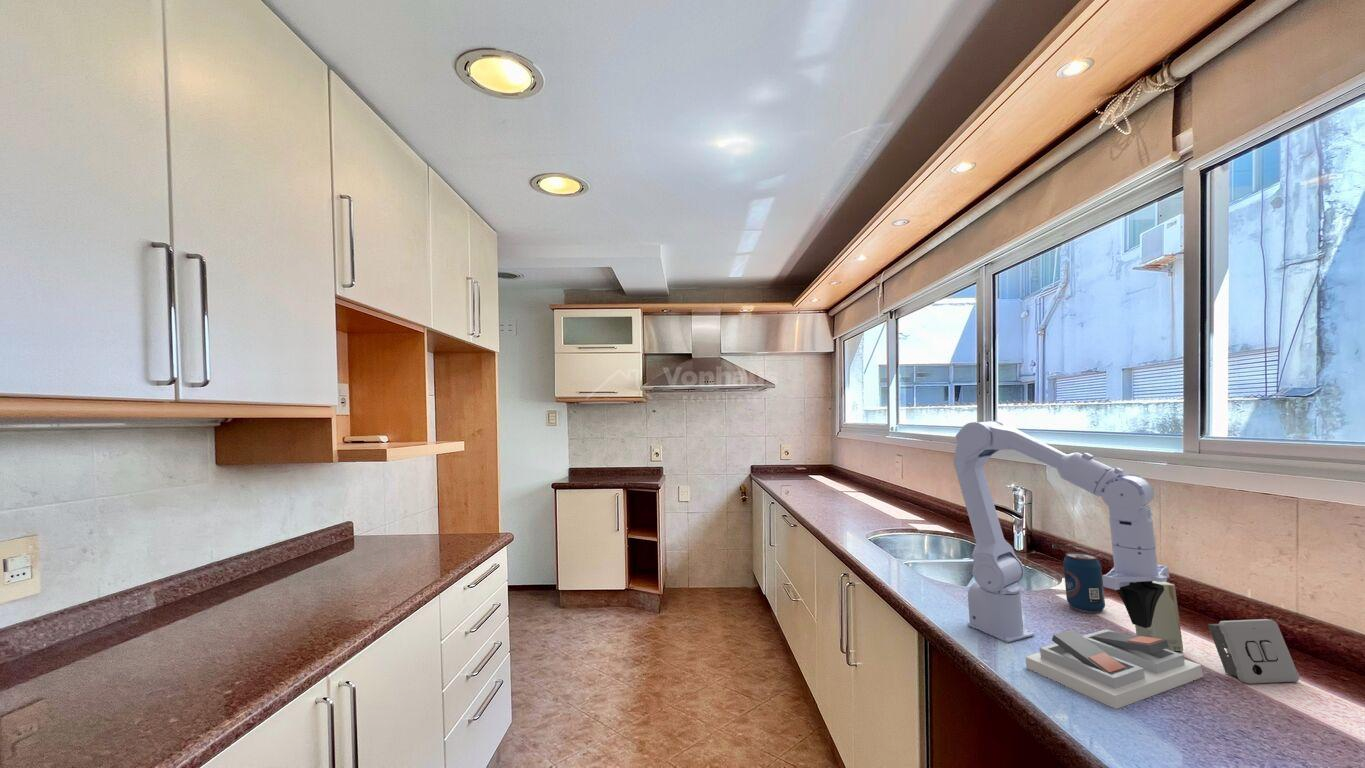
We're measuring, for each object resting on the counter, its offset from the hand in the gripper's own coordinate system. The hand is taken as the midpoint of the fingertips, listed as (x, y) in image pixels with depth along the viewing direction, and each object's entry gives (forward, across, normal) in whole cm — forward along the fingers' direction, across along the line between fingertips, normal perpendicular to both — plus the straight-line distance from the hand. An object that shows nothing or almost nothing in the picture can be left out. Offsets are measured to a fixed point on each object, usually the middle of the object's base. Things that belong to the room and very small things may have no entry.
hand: (1141, 625), depth 86 cm
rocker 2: (+4, +2, +3) cm, 5 cm away
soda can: (+9, +22, +23) cm, 33 cm away
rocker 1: (+4, -9, +3) cm, 11 cm away
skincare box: (+9, +16, +6) cm, 19 cm away
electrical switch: (+9, +16, -7) cm, 19 cm away
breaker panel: (+8, -4, +3) cm, 10 cm away
